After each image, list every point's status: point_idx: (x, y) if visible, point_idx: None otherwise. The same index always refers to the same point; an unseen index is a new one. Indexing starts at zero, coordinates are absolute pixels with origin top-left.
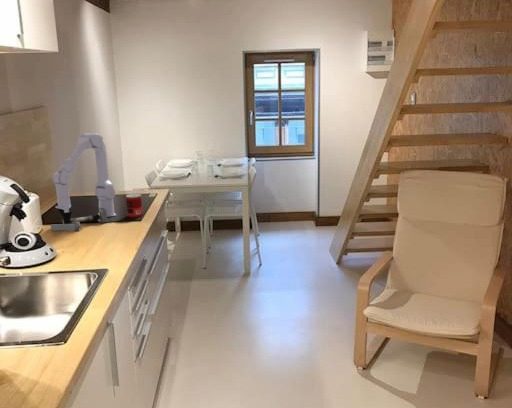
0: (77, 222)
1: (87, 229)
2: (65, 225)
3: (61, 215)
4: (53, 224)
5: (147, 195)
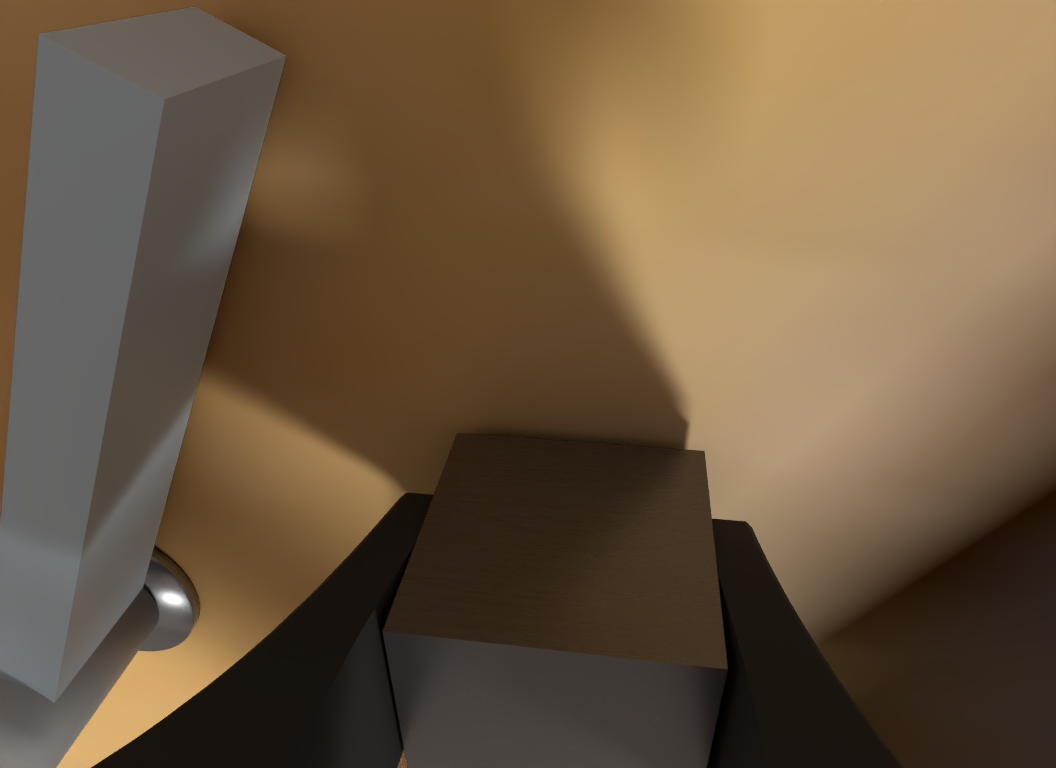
0: (21, 757)
1: (140, 696)
2: (18, 499)
3: (762, 749)
4: (129, 181)
5: None
